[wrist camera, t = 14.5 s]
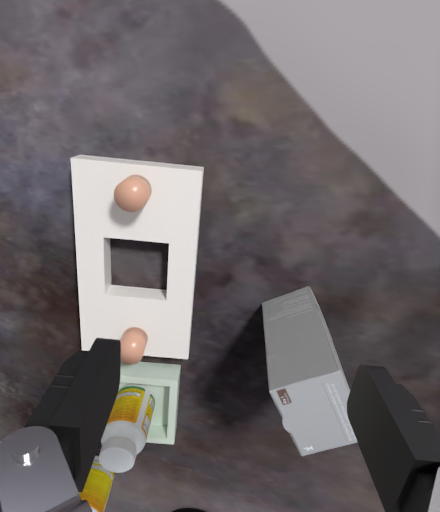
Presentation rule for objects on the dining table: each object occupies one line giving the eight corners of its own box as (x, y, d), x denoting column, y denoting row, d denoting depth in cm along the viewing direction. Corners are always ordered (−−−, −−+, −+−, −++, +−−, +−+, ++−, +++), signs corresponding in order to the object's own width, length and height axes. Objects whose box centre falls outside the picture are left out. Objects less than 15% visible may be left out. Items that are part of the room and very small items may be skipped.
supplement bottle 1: (84, 449, 55) (55, 521, 45) (120, 458, 56) (99, 531, 46) (76, 473, 57) (47, 547, 47) (111, 482, 58) (89, 557, 48)
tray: (99, 420, 53) (92, 438, 50) (97, 357, 48) (89, 373, 46) (176, 426, 53) (173, 444, 50) (180, 364, 49) (178, 380, 46)
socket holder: (88, 338, 47) (72, 366, 42) (79, 154, 38) (57, 162, 33) (189, 346, 48) (185, 376, 42) (203, 167, 39) (200, 176, 34)
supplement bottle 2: (164, 398, 50) (150, 462, 41) (137, 418, 51) (119, 484, 42) (134, 375, 48) (114, 435, 40) (107, 396, 50) (82, 459, 41)
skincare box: (330, 335, 47) (379, 441, 32) (277, 354, 48) (301, 464, 33) (308, 280, 44) (351, 369, 29) (253, 302, 45) (267, 397, 30)
